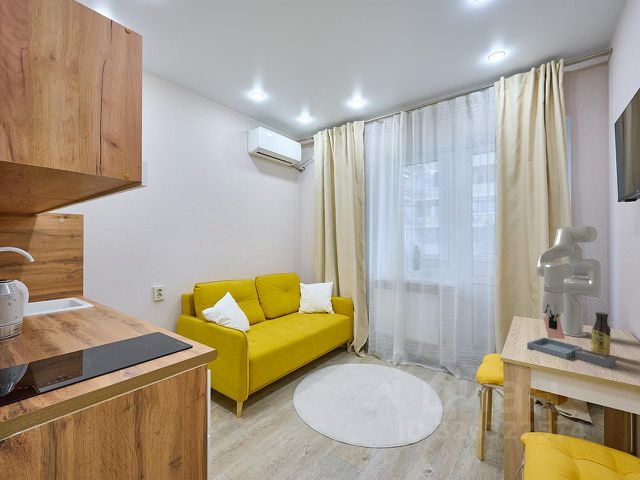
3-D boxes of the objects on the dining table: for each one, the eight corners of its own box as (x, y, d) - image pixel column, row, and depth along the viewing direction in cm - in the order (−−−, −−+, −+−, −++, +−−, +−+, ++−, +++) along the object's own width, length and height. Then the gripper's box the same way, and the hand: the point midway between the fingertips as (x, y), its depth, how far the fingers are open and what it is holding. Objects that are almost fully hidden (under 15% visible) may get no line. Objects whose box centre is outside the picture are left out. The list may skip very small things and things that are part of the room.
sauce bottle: (587, 353, 137) (587, 311, 136) (599, 352, 137) (599, 310, 137) (602, 359, 130) (602, 314, 130) (614, 358, 131) (614, 314, 130)
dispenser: (582, 356, 133) (582, 348, 133) (615, 366, 123) (615, 356, 123) (574, 359, 129) (574, 351, 129) (608, 369, 120) (608, 360, 120)
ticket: (550, 337, 141) (545, 316, 143) (564, 338, 136) (559, 316, 138) (548, 338, 140) (543, 316, 142) (563, 339, 135) (557, 316, 137)
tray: (543, 343, 150) (543, 337, 150) (582, 353, 136) (582, 347, 136) (527, 348, 143) (527, 342, 143) (565, 360, 129) (565, 353, 129)
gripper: (552, 287, 146) (552, 324, 146) (536, 290, 139) (536, 328, 139) (571, 289, 139) (571, 328, 140) (555, 292, 132) (555, 333, 132)
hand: (553, 328), depth 139 cm, fingers closed on ticket, 1 cm apart
